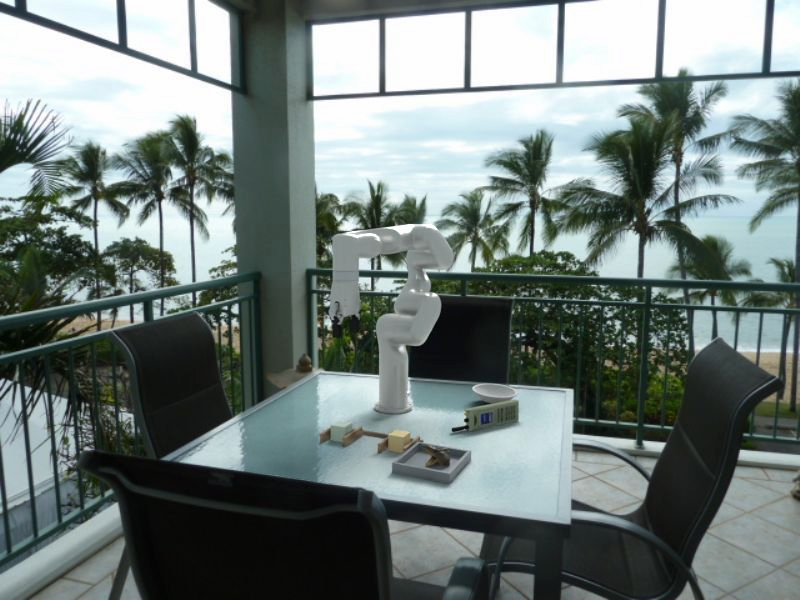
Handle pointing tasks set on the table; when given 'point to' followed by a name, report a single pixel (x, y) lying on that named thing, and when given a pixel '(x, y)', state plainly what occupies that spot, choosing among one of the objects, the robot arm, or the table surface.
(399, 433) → the ochre block
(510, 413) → the handheld radio
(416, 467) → the tray
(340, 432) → the sage block
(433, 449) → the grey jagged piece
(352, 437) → the rack
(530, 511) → the table surface
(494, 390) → the dish
